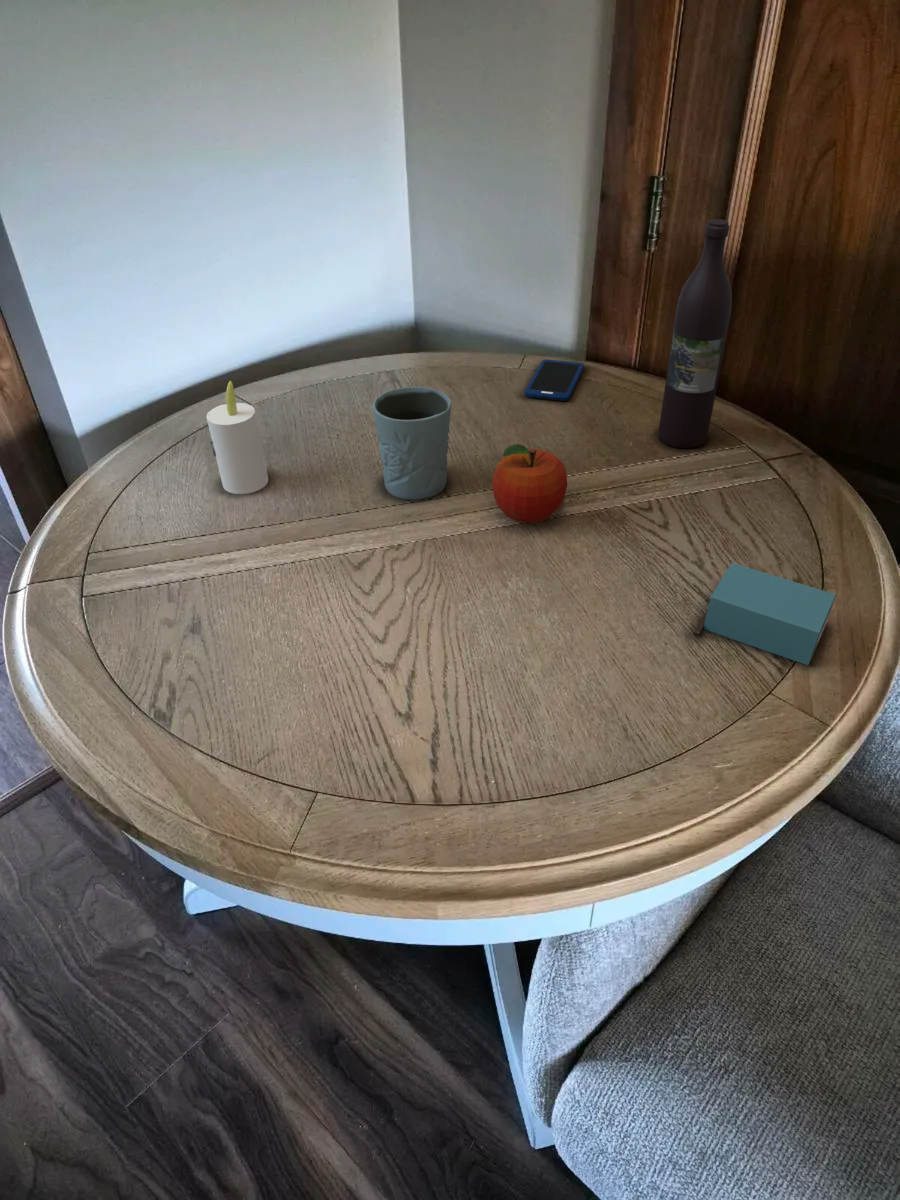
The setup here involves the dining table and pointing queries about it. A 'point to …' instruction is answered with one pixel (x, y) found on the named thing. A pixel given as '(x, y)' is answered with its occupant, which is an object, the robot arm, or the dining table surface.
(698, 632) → the stop strip
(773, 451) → the dining table surface
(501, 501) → the fruit
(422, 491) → the blue grey cup
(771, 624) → the teal labeled box
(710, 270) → the wine bottle
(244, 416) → the candle
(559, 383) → the cell phone
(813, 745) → the dining table surface
